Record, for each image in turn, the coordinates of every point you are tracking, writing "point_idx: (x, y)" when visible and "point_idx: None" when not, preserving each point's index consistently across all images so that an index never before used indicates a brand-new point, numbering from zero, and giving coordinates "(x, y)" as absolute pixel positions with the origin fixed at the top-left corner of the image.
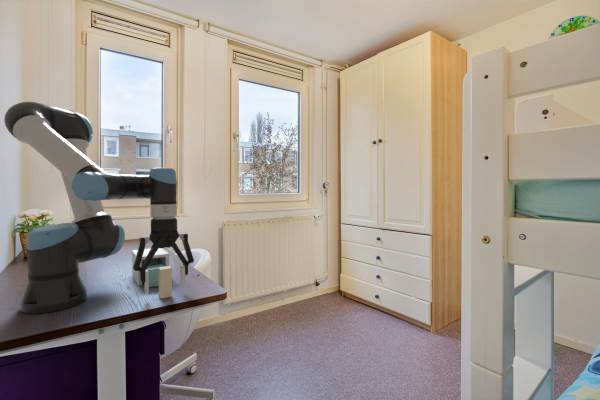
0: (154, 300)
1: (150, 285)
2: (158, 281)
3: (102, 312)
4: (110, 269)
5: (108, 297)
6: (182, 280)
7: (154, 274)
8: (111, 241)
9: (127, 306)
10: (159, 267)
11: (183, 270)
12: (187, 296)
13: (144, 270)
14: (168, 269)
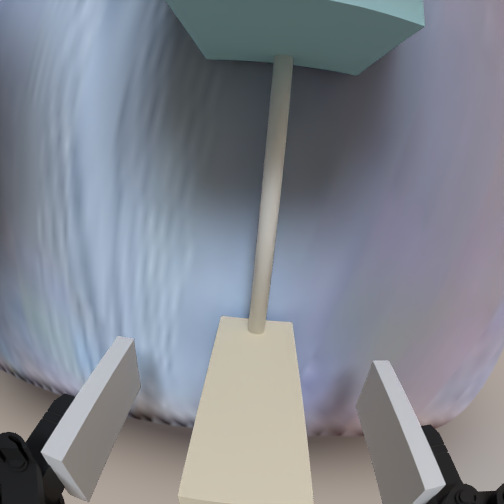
0: (188, 339)
1: (225, 55)
2: (295, 53)
3: (3, 314)
4: None
5: (7, 112)
6: (366, 432)
7: (258, 23)
8: None
9: (68, 323)
10: (189, 502)
11: (389, 495)
12: (353, 389)
13: (57, 500)
14: None
